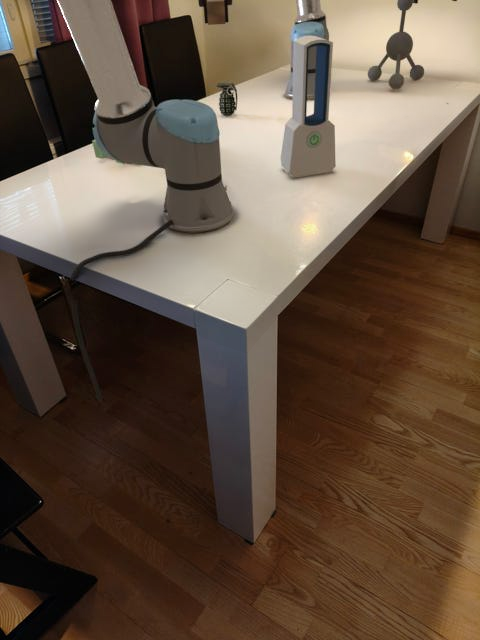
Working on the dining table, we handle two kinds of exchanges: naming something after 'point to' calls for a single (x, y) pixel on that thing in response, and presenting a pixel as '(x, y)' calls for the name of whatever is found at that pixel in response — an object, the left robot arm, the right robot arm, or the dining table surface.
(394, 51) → the molecular model
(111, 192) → the dining table surface
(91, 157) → the dining table surface
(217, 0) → the block
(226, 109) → the grenade
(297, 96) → the electronic device
